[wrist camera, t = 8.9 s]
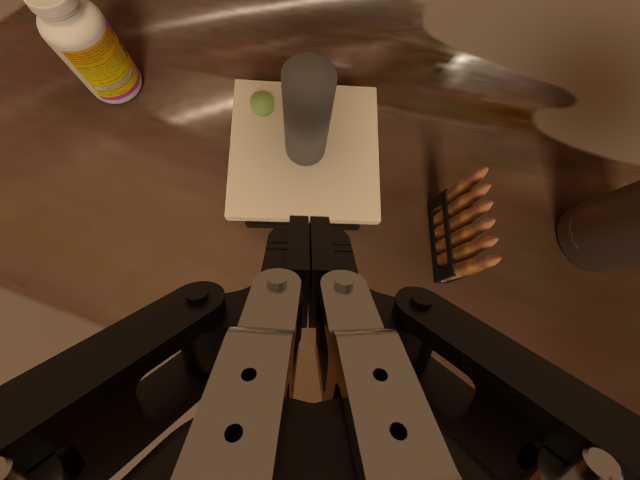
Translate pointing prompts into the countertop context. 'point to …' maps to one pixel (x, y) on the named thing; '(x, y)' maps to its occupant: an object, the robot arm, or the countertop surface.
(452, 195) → the ammunition clip
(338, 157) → the joystick
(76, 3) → the supplement bottle
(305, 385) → the countertop surface
